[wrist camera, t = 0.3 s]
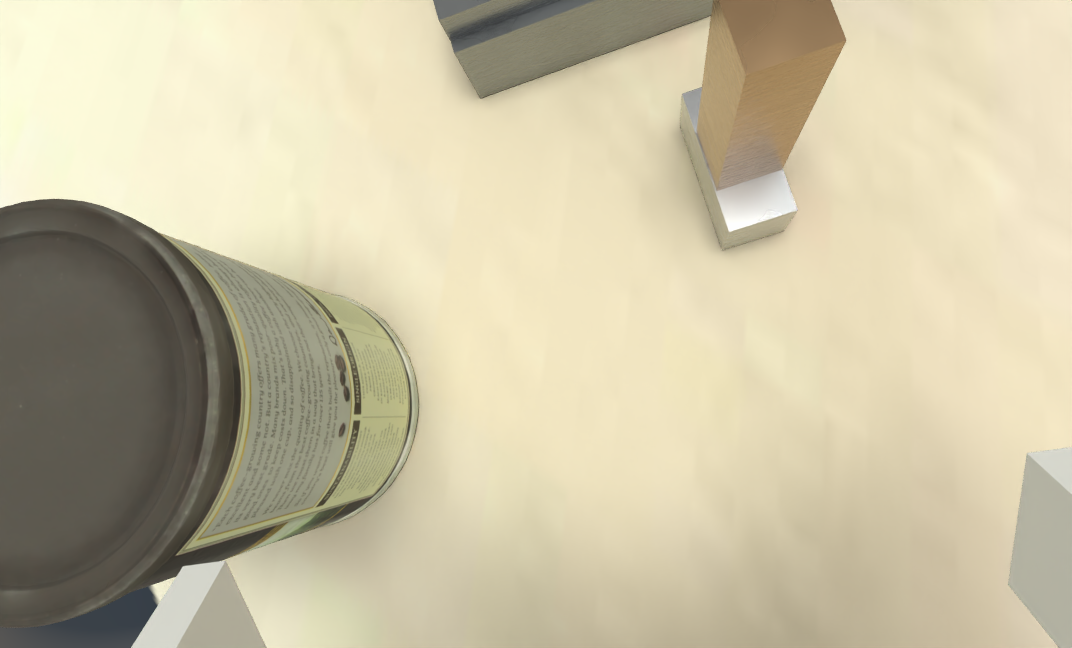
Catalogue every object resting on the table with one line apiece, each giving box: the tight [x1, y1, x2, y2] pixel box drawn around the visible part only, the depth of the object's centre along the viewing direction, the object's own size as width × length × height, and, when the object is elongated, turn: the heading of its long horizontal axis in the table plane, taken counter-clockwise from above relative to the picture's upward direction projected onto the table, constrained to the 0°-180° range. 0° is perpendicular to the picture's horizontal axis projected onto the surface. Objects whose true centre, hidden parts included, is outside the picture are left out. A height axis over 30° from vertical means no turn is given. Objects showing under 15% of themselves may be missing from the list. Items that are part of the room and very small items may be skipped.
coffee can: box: [0, 199, 419, 628], centre depth 24 cm, size 10×10×14 cm
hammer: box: [680, 0, 846, 250], centre depth 23 cm, size 6×2×12 cm, turn 16°
